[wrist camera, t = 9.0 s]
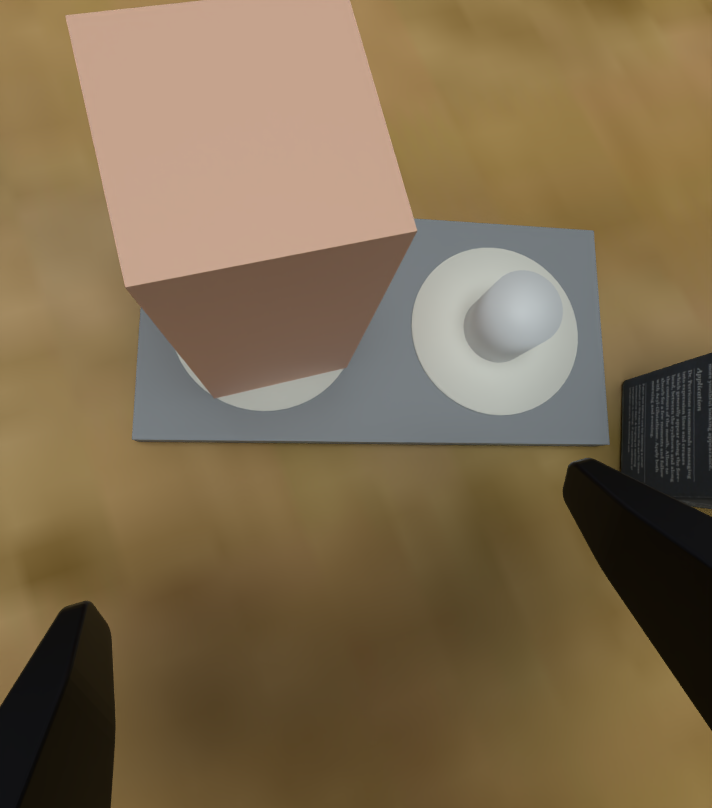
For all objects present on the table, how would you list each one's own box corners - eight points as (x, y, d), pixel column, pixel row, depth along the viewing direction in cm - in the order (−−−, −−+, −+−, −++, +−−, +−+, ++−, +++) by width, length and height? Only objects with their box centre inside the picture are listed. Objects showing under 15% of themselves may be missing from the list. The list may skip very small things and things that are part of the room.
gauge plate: (596, 446, 24) (656, 438, 20) (139, 441, 21) (106, 431, 18) (581, 240, 26) (635, 196, 22) (153, 212, 23) (126, 156, 19)
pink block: (346, 367, 22) (417, 231, 10) (214, 398, 21) (125, 287, 9) (313, 245, 23) (345, -16, 11) (184, 270, 22) (65, 15, 10)
